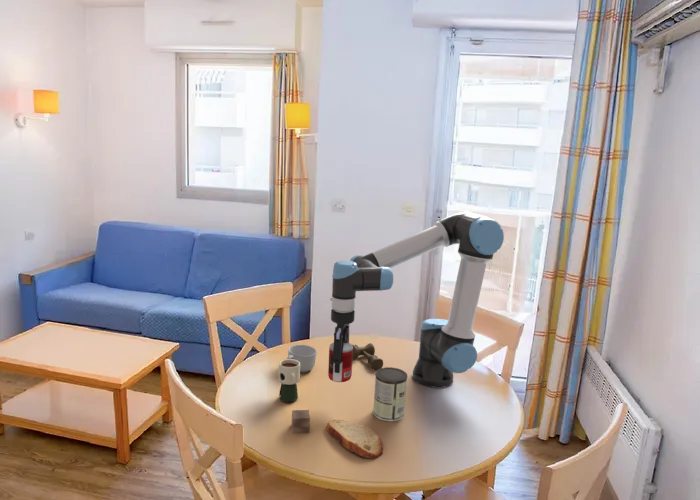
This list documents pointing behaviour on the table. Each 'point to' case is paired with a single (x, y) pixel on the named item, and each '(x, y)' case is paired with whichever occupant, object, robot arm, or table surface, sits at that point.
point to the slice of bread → (356, 438)
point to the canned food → (346, 362)
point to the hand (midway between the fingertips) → (339, 375)
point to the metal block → (300, 421)
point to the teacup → (303, 356)
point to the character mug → (289, 379)
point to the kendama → (368, 355)
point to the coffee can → (390, 394)
